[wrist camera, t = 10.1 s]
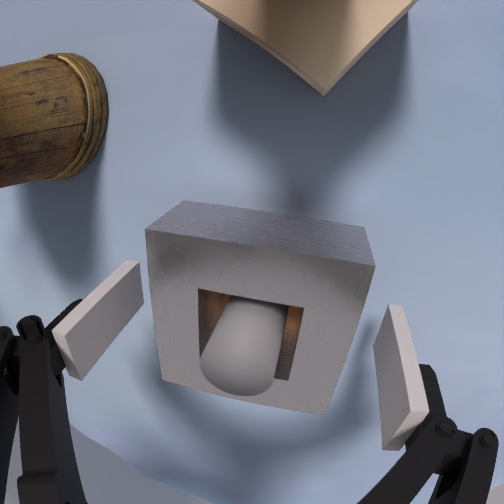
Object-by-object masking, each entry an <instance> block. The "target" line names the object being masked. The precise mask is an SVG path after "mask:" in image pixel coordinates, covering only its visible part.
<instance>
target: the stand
mask: <svg viewBox="0 0 504 504" xmlns="http://www.w3.org/2000/svg"><path fill="white" fill-rule="evenodd" d="M193 1H194V2H195V3H197V4H198V5H200V6H201V7H202V8H204V9H205V10H207V11H208V12H209V13H211V14H212V15H213V16H215V17H216V18H217V19H219V20H220V21H222V22H224V23H225V24H227V25H228V26H230V27H231V28H233V29H234V30H236V31H238V32H239V33H241V34H242V35H244V36H245V37H246V38H248V39H249V40H251V41H252V42H254V43H255V44H257V45H258V46H259V47H261V48H262V49H264V50H265V51H266V52H268V53H269V54H271V55H272V56H273V57H275V58H276V59H277V60H279V61H280V62H281V63H283V64H284V65H285V66H286V67H288V68H289V69H290V70H292V71H293V72H294V73H295V74H297V75H298V76H299V77H300V78H302V79H303V80H304V81H305V82H307V83H308V84H309V85H310V86H311V87H313V88H314V89H315V90H316V91H317V92H319V93H320V94H321V95H322V96H323V97H324V96H325V95H326V94H327V93H328V92H329V91H330V90H331V88H332V87H333V86H334V85H335V84H336V83H337V82H338V81H339V80H340V79H341V78H342V77H343V76H344V75H345V74H346V73H347V72H348V71H349V70H350V69H351V68H352V67H353V65H354V64H355V63H356V62H357V61H358V60H359V59H360V58H361V57H362V56H363V55H364V54H365V53H366V52H367V51H368V50H369V49H370V48H371V47H372V46H373V45H374V44H375V43H376V42H377V41H378V40H379V39H380V38H381V37H382V36H383V35H384V34H385V33H386V32H387V31H388V30H389V29H390V28H391V27H392V26H393V25H394V24H395V23H396V22H397V21H399V20H400V19H401V18H402V17H403V16H404V15H405V14H406V13H407V12H408V11H409V10H410V9H411V8H412V6H413V5H414V4H415V3H416V2H417V1H418V0H193Z"/></svg>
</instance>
